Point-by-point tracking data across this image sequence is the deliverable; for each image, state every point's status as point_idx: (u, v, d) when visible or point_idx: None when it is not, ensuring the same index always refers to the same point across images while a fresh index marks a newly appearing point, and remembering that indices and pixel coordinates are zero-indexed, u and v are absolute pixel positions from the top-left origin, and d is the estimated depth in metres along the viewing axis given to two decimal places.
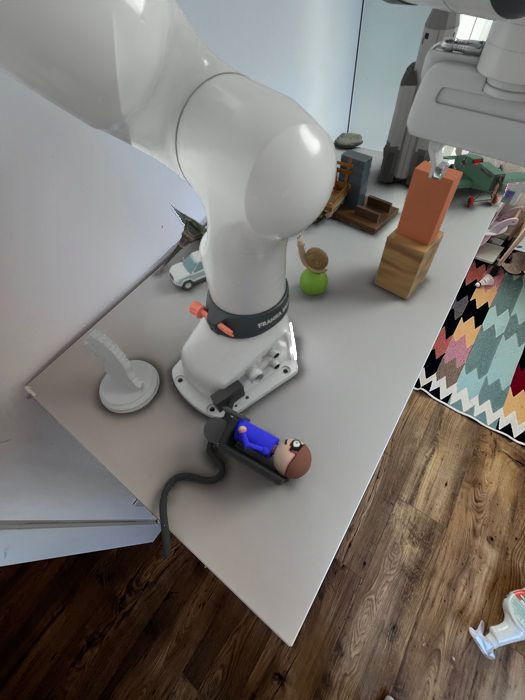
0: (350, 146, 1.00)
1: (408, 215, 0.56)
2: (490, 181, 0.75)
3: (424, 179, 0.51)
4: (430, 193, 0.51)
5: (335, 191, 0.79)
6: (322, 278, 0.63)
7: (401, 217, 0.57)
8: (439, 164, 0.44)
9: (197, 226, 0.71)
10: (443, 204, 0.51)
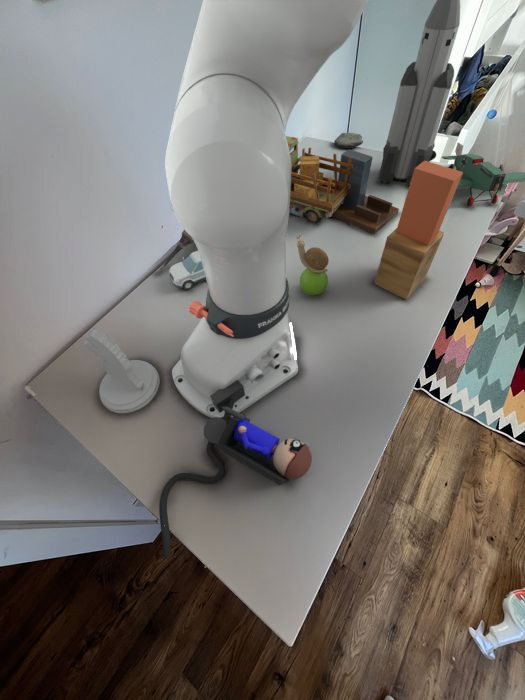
0: (350, 146, 1.00)
1: (408, 215, 0.56)
2: (490, 181, 0.75)
3: (424, 179, 0.51)
4: (430, 193, 0.51)
5: (335, 191, 0.79)
6: (322, 278, 0.63)
7: (401, 217, 0.57)
8: None
9: None
10: (443, 204, 0.51)
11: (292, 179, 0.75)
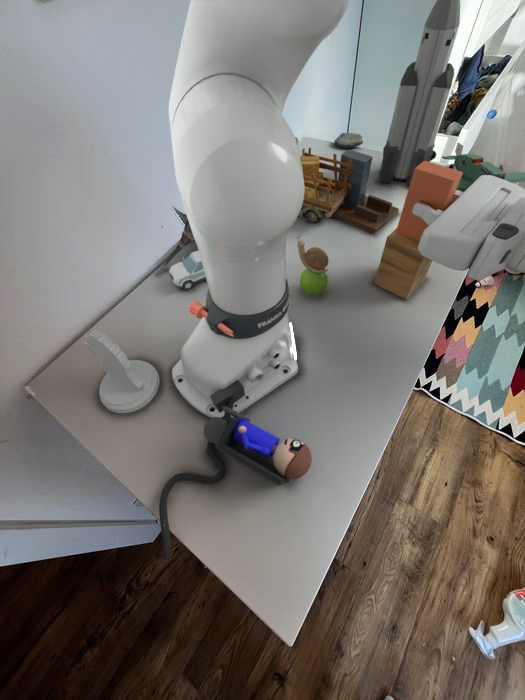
0: (350, 146, 1.00)
1: (408, 215, 0.56)
2: None
3: (424, 179, 0.51)
4: (430, 193, 0.51)
5: (335, 191, 0.79)
6: (322, 278, 0.63)
7: (401, 217, 0.57)
8: None
9: None
10: (443, 204, 0.51)
11: None
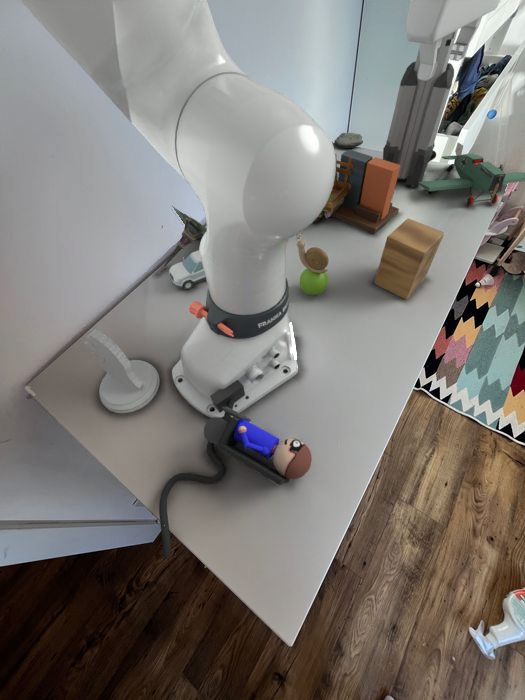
0: (350, 146, 1.00)
1: (366, 197, 0.76)
2: (490, 181, 0.75)
3: (374, 170, 0.71)
4: (379, 180, 0.72)
5: (335, 191, 0.79)
6: (322, 278, 0.63)
7: (361, 199, 0.78)
8: (459, 43, 0.49)
9: (197, 226, 0.71)
10: (388, 188, 0.72)
11: None
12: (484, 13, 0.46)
